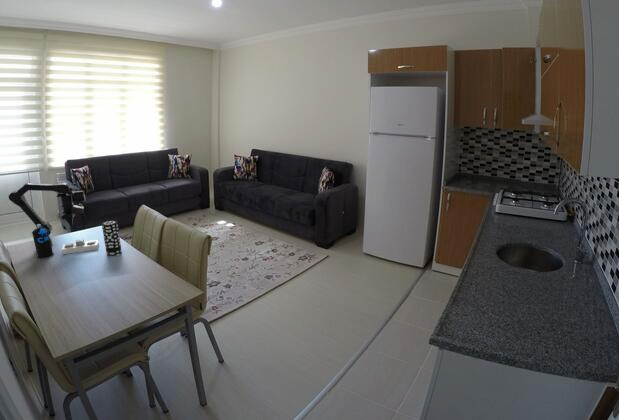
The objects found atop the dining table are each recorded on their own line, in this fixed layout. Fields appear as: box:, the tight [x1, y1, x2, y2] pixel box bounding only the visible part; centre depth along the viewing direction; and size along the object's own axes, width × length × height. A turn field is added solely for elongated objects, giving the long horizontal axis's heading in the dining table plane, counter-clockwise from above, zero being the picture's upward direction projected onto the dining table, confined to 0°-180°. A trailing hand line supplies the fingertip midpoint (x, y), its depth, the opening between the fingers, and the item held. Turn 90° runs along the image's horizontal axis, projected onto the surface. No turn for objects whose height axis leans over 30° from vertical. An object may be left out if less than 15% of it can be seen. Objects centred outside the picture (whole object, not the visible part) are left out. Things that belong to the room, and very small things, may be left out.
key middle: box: [75, 238, 85, 246], centre depth 227 cm, size 4×4×3 cm
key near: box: [64, 242, 74, 248], centre depth 225 cm, size 4×4×3 cm
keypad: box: [61, 239, 100, 255], centre depth 228 cm, size 19×9×3 cm, turn 116°
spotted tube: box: [101, 220, 123, 257], centre depth 219 cm, size 8×8×20 cm
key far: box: [86, 239, 96, 245], centre depth 230 cm, size 4×4×3 cm
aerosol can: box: [31, 224, 55, 259], centre depth 215 cm, size 8×8×20 cm
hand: (71, 225), depth 234 cm, fingers closed
